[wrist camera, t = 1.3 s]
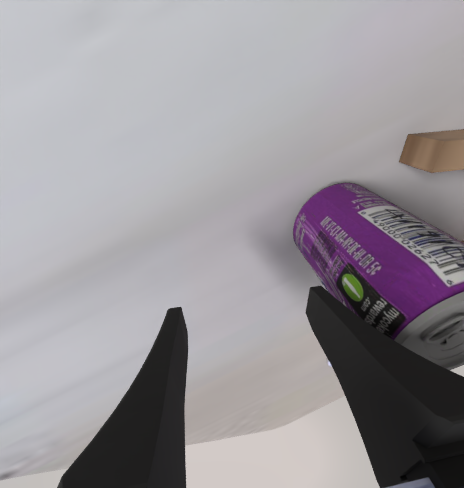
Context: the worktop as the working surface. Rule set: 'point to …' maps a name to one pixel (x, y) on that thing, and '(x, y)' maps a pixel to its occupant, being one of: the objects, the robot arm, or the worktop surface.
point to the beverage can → (387, 269)
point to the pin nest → (435, 151)
